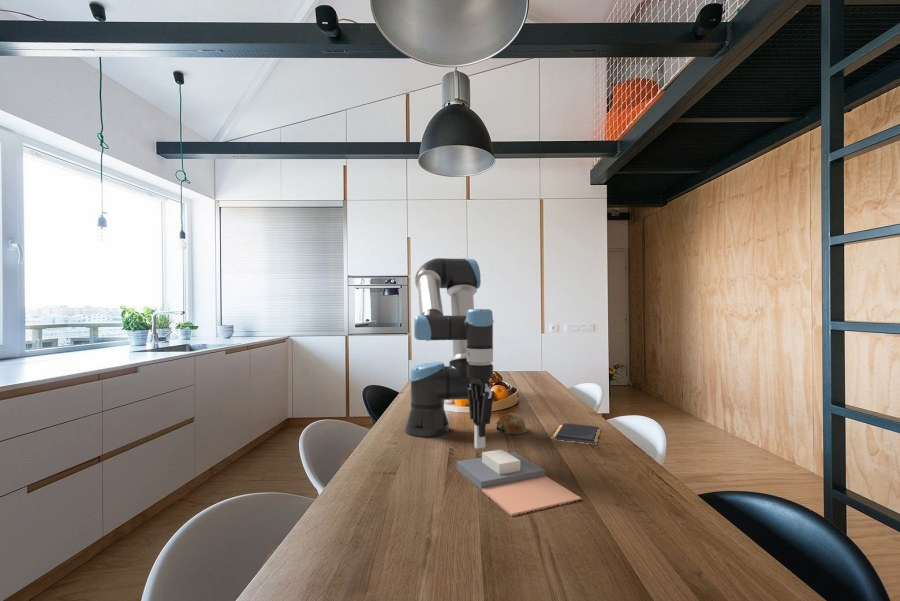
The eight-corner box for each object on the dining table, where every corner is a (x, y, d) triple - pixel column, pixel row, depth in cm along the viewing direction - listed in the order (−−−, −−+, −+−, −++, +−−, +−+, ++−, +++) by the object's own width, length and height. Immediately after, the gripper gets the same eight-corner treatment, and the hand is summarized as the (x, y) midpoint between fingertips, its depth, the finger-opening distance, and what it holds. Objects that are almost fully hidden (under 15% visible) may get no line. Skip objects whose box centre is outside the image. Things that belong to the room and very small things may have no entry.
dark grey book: (596, 441, 127) (547, 435, 134) (596, 448, 127) (547, 441, 134) (603, 425, 145) (559, 420, 152) (603, 431, 145) (559, 425, 152)
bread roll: (522, 446, 138) (533, 424, 138) (495, 433, 139) (505, 411, 139) (518, 437, 148) (527, 417, 148) (492, 424, 148) (502, 404, 149)
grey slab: (456, 469, 109) (456, 461, 109) (514, 459, 116) (514, 452, 116) (481, 490, 96) (481, 481, 96) (545, 477, 103) (545, 469, 103)
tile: (482, 462, 108) (482, 452, 109) (501, 458, 111) (501, 449, 111) (499, 474, 100) (499, 464, 100) (520, 470, 103) (520, 460, 103)
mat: (481, 490, 96) (481, 488, 96) (545, 478, 103) (545, 476, 103) (511, 516, 84) (511, 513, 84) (581, 500, 91) (581, 498, 91)
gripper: (458, 361, 121) (458, 442, 121) (478, 366, 109) (478, 456, 109) (480, 360, 124) (480, 439, 123) (503, 365, 112) (503, 452, 112)
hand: (479, 447), depth 116 cm, fingers closed
